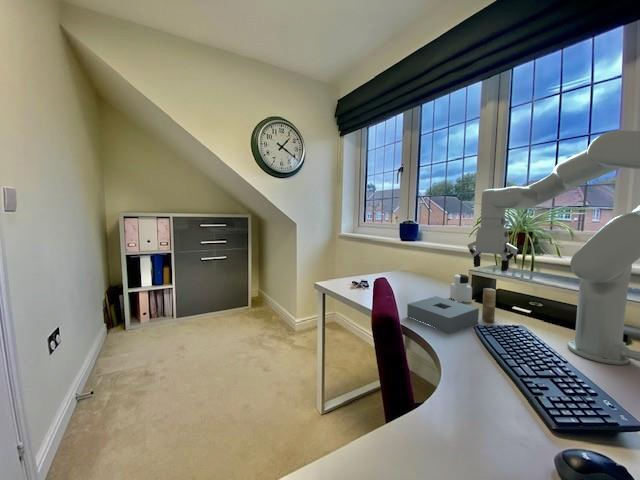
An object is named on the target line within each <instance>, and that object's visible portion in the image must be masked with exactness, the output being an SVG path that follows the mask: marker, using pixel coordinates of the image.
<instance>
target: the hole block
mask: <svg viewBox="0 0 640 480" xmlns="http://www.w3.org/2000/svg"><path fill="white" fill-rule="evenodd" d="M406 305H407V307H406V308H407V309H406V310H407V311H406V312H407V314H406V315H407V316H408V317H411V318H414V319H416V320H418V321H421V322H424V323H426V324H429V325H431V326H433V327H435V328H434V329H436V328H437V329H436V330H438V329H440V330H439V331H441V330H442V331H441V332H443V331H444V333H446V332H447V333H446V334H449V335H450V334H453V333H455V332H458V331H461V330H463V329H465V328H468V327H469V326H470V327H471V326H472V325H475V324H478V323H479V314H480V313H479V311H480V308H479V307H476V306H472V305H470V304H469V305H468V304H466V303H463V302H455V301H454V300H451V299H447V298H443V297H441V296H437V295H435V296H433V297H432V296H431V297H428V298H425V299H421V300H417V301H414V302H413V301H412V302H409V303H407V304H406ZM407 316H406V317H407ZM408 317H407V318H408ZM418 321H417V322H418ZM477 322H478V323H477ZM431 326H430V327H431ZM467 326H468V327H467ZM433 327H432V328H433ZM462 328H463V329H462ZM457 330H458V331H457ZM452 332H453V333H452Z"/></svg>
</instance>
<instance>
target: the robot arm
mask: <svg viewBox="0 0 640 480" xmlns="http://www.w3.org/2000/svg"><path fill="white" fill-rule="evenodd" d="M622 168H625V169H631V170H640V130H626V129H625V130H622V129H621V130H620V129H616V130H611V131H606V132H604V133H602V134H600V135H598V136H597V137H596V138H594V139H593V140H592V141H591V142H590V144H589V145H588V148H587V149H585V150H583V151H581V152H579V153H577V154H574V155H573V156H570V157H568V158H566V159H565V160H562V161H560V162H559V163H557V164H556V166H554V168H553V170H552V172H551V173H550V174H549V175H547V176H545V177H544V178H542V179H540V180H538V181H537V182H534V183H532V184H529V185H527V186H516V185H515V186H514V185H513V186H507V187H504V188H491V189H490V188H489V189H488V188H487V189H484V190H483V191H482V193H481V205H480V206H481V207H480V208H481V209H480V225H479V226H478V228H477V232H476V237H475V241H473V242H471V243H468V244H467V246H466V247H467V248H468V250H469V252H470V253H471V255H472V257H473V267H474V268H478V267H481V256H480V255H481V254H489V255H499V256H500V257H501V258H502V260H501V265H500V271H501V272H507V271H508V270H509V269H510V268H509V267H510V261H511V259H513V258H514V257H515V255H516V254H517V253H518V252H519V248H517V247H516V246H514V245H512V244H510V237H509V229H508V226H506V225H508V224H510V221H509V220H508V219H506V209H511V210H518V209H519V210H525V209H530V208H533V207H536V206H540V205H541V204H544V203H547V202H548V201H551V200H553V199H555V198H558V197H559V196H562V195H564V194H565V193H567V192H570V190H572V189H575V188H577V187H579V186H582V185H584V184H586V183H588V182H590V181H591V182H592V181H593V180H595V179H597V178H601V177H602V176H605V175H607V174H610V173H613V172H615V171H617V170H619V169H622ZM474 248H475V249H474ZM509 251H510V252H509ZM508 253H509V254H508ZM639 259H640V204H639V205H638V206H637V207H636V208H634V209H633V210H632V211H631V212H628V213H627V212H626V213H623V214H619V215H618V216H616V217H614V218H613V219H611V220H609V221H608V222H607V223H605V225H603V227H601V228H600V229H599V230H598V231H597V232H596V233H595V234H594V235H593V236H592V237H590V238H589V239H588V240H587V241H586V242H585V243H584V244H583V245H582V246H581V247H580V248H579V249H577V251H575V253H574V254H573V255H572V257H571V260H570V269H571V271H572V273H573V274H574V275H575V277H577V278H578V279H580V281H579V286H578V295H577V296H578V297H577V308H576V321H575V334H574V335H575V336H574V339H572V340H569V341H568V342H567V345H566V346H567V349H569V350H570V351H571V352H572V353H574V354H575V355H578V356H580V357H582V358H585V359H588V360H591V361H595V362H598V363H603V364H608V365H609V364H610V365H618V366H619V365H626V364H629V363H630V359H632V360H634V361H637V362H640V351H638V350H635V349H629V347H627V343H626V342H625V341H624V329H625V320H626V319H625V317H626V310H627V309H626V308H627V301H628V293H629V291H628V290H629V286H630V279H631V275H632V269H633V268H632V267H633V264H634V263H636V261H638V260H639Z"/></svg>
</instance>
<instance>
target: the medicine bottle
mask: <svg viewBox="0 0 640 480" xmlns="http://www.w3.org/2000/svg"><path fill="white" fill-rule="evenodd" d="M469 278H470V277H469V276H468V275H466V274H460V273H459V274H458V273H457V274H455V275H453V283H450V292H449V293H450V294H449V298H450V297H451V298H452V300H453V299H454V300H455V301H464V302H463V303H472V300H473V299H472V297H473V286H471V285H469V284H470V283H469V281H470V279H469ZM451 298H450V299H451ZM454 300H453V301H454ZM467 301H468V302H467Z"/></svg>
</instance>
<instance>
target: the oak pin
mask: <svg viewBox="0 0 640 480" xmlns="http://www.w3.org/2000/svg"><path fill="white" fill-rule="evenodd" d="M482 291H483V293H482V311H481V321H483V322H485V321H486V322H485V323H494V322H495V313H496V296H497V292H496V291H497V290H496V289H494V288H490V287H489V288H488V287H486V288H483V290H482Z"/></svg>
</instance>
